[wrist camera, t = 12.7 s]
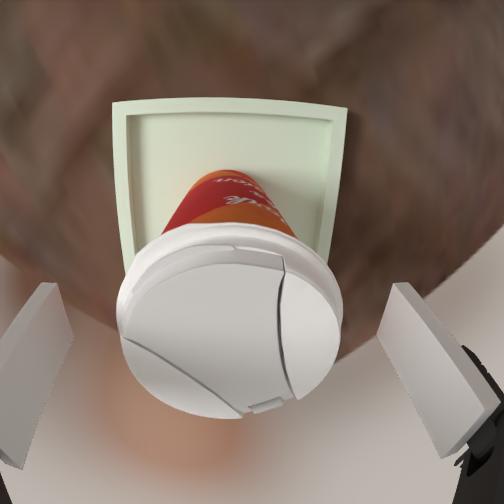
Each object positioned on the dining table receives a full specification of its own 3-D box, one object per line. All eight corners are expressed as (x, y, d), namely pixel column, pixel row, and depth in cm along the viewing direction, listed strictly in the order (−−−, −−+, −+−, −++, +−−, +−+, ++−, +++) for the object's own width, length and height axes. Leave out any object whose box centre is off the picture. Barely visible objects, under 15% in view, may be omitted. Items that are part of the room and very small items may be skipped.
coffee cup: (297, 232, 24) (372, 382, 11) (202, 273, 25) (189, 441, 12) (254, 132, 21) (310, 185, 7) (149, 182, 22) (54, 304, 8)
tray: (135, 293, 26) (130, 303, 25) (119, 102, 19) (112, 102, 18) (315, 294, 28) (319, 304, 26) (339, 107, 21) (347, 108, 19)
